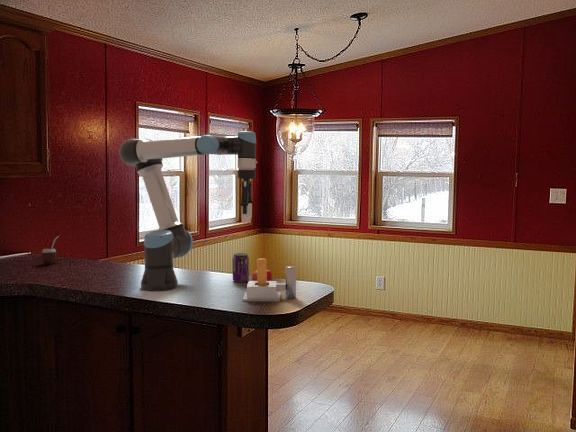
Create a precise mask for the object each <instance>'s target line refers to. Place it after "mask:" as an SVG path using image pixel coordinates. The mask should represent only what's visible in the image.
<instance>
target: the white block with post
mask: <svg viewBox="0 0 576 432" xmlns="http://www.w3.org/2000/svg"><path fill="white" fill-rule="evenodd" d="M282 292H285V299H286V300H295V299H297V266H294V265H289V266H288V265H287V266H285V282H278V281H277V280H271V281H267V285H257V281H253V280H248V282H247V286H246V291H244V294H243V297H242V302H281V296H282V295H281V293H282Z"/></svg>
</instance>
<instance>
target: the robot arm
mask: <svg viewBox="0 0 576 432" xmlns="http://www.w3.org/2000/svg"><path fill="white" fill-rule="evenodd" d="M256 136H257V135H256V132H254V131H244V130H243V131H242V130H241V131H238V132H237V135H236V136H222V135H211V134H203V135H200V136H199V135H197V136H190V137H189V136H188V137H176V138H165V139H157V140H155V139H154V140H153V139H149V138H144V139H143V138H142V139H141V138H130V139H129V138H127V139H126V140H125V141H123V142H122V143H121V144H120V146H119V149H118V154H119V158H120V160H121V161H122V162H123V163H124V164H126V165H128V166H130V167H135V170H136V172H137V174H139V176H142V180H143V182H144V186H145V189H146V192H147V194H148V198H149V201H150V204H151V207H152V210H153V213H154V216H155V218H156V221H157V224H158V229H157V230H152V231H149V232H147V233H145V234H144V237H143V238H144V239H143V249H144V250H143V252H144V255H143V256H144V272H143V275H142V277H141V281H140V289H141V290H144V291H156V292H157V291H158V292H159V291H167V290H168V291H169V290H174V289H176V288H178V287H179V286H178V285H179V284H178V283H179V282H178V278H177V275H176V272H175V270H174V269H175V268H174V259H177V258H182V257H184V256H186V255H187V254H189V253H190V252H191V250H192V249H193V245H194V240H193V236H192V234H191V233H190V231H188V230H186V229H185V226H184V223H182V222H181V221H180V220H178V216H177V213H176V210H175V208H174V205H173V201H172V198H171V195H170V192H169V190H168V187H167V183H166V181H165V178H164V175H163V172H162V168H163V166H164V164H163V159H168V158H169V159H170V158H172V159H173V158H182V157H184V158H185V157H193V156H205V155H206V156H207V155H216V156H218V155H219V156H222V155H225V156H226V155H231V156H232V155H237V168H238V170H237V179H239V180H240V179H241V180H242V181H241V201H240V203H239V206H240V207H241V222H242V223H249V220H251V219H252V217H253V215H252V212H253V210H252V208H253V207H252V205H253V204H254V200H253V192H252V189H253V188H252V187H253V183H252V180H254V179H256V178H257V171H256V168H257V167H256V166H257V165H256V164H258V161H257V154H256V153H257V138H256Z"/></svg>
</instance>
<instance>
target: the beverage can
mask: <svg viewBox="0 0 576 432" xmlns="http://www.w3.org/2000/svg"><path fill="white" fill-rule="evenodd" d="M248 255H249V254H248V253H245V252H244V253H243V252H240V253H239V252H238V253H237V252H236V253H233V256H232V281H233V282H236V283H245V282H247V281H250V265H249V263H250V261H249V260H250V259H249V256H248Z"/></svg>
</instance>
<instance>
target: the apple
mask: <svg viewBox="0 0 576 432" xmlns="http://www.w3.org/2000/svg"><path fill="white" fill-rule="evenodd" d="M272 274H273V273H272V271H271V270H269V269H267V281H273V280H272V279H273V275H272ZM251 277H252V278H251V281H257V269H256V270H254V271H253V273H252V276H251Z"/></svg>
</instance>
